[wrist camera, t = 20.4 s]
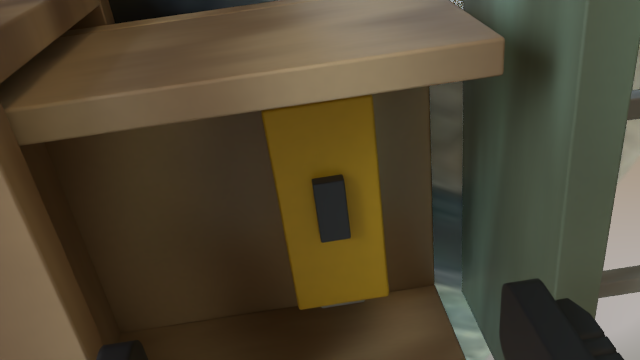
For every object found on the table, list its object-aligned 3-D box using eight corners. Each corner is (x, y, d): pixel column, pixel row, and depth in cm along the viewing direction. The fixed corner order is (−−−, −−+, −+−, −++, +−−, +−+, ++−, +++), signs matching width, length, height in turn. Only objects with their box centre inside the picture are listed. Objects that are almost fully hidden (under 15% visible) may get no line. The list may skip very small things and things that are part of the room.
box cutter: (261, 78, 17) (260, 117, 14) (358, 64, 17) (375, 100, 14) (299, 286, 21) (304, 347, 18) (378, 273, 21) (394, 333, 18)
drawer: (680, -88, 17) (940, -64, 10) (617, 267, 23) (751, 415, 17) (-17, 11, 16) (-198, 99, 10) (119, 343, 23) (63, 526, 17)
